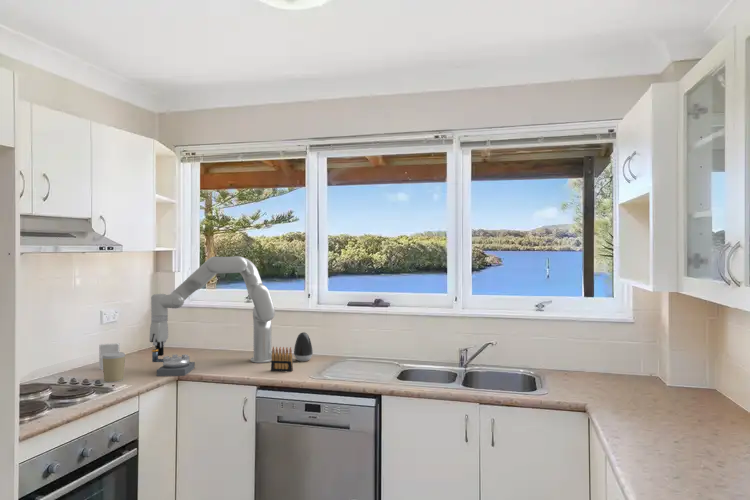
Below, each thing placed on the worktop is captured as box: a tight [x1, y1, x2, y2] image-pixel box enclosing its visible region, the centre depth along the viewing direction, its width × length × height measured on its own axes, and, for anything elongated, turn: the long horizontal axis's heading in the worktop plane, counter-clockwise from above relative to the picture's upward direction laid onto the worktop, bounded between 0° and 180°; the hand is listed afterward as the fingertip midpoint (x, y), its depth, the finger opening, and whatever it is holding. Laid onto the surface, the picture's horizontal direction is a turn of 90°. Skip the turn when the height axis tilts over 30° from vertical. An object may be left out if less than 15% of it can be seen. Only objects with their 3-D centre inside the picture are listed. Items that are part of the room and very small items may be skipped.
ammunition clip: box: [270, 346, 294, 373], centre depth 243 cm, size 11×2×12 cm, turn 82°
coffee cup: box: [102, 351, 126, 383], centre depth 225 cm, size 9×9×12 cm
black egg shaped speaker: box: [293, 331, 314, 362], centre depth 267 cm, size 10×10×15 cm
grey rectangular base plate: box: [156, 361, 196, 377], centre depth 241 cm, size 13×16×3 cm
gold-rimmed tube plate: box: [151, 348, 190, 368], centre depth 241 cm, size 18×12×8 cm, turn 89°
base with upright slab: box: [98, 342, 120, 371], centre depth 249 cm, size 9×9×12 cm
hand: (159, 355), depth 245 cm, fingers closed
